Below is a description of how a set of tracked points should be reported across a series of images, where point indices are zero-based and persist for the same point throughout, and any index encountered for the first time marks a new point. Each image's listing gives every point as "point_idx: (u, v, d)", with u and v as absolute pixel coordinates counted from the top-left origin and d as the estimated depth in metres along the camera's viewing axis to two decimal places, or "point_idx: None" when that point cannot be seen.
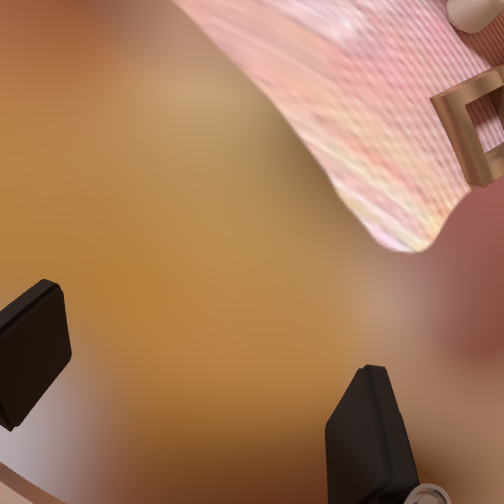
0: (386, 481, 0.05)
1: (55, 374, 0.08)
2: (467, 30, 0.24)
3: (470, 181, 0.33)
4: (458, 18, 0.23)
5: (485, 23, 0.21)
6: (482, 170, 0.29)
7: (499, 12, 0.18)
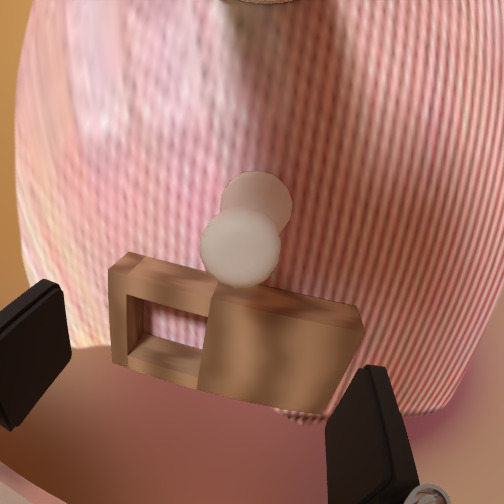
0: (386, 481, 0.05)
1: (55, 374, 0.08)
2: None
3: None
4: None
5: None
6: (117, 351, 0.31)
7: None
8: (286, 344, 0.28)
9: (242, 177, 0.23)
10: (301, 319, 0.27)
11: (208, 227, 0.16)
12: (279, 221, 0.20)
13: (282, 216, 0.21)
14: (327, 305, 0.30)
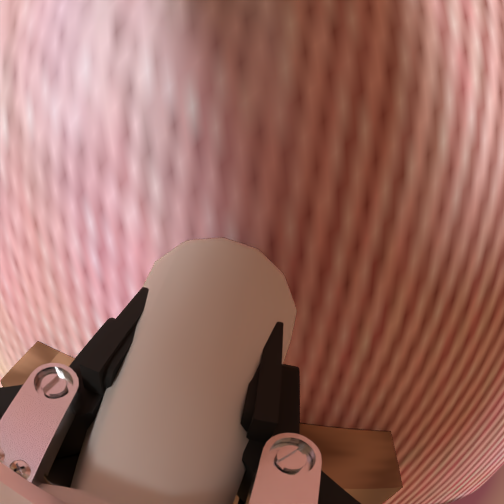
0: (248, 420, 0.06)
1: None
2: None
3: None
4: None
5: None
6: None
7: None
8: None
9: (173, 263, 0.09)
10: None
11: None
12: None
13: None
14: (346, 441, 0.16)
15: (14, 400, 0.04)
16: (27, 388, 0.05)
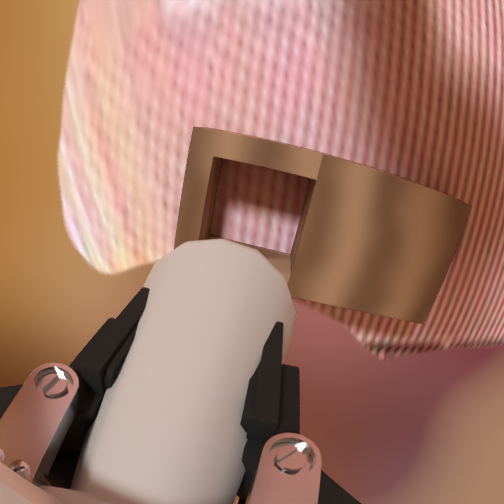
0: (248, 420, 0.06)
1: None
2: None
3: None
4: None
5: None
6: None
7: None
8: (400, 216, 0.23)
9: (173, 265, 0.09)
10: (416, 184, 0.22)
11: None
12: None
13: None
14: (426, 186, 0.25)
15: (14, 400, 0.04)
16: (27, 388, 0.05)
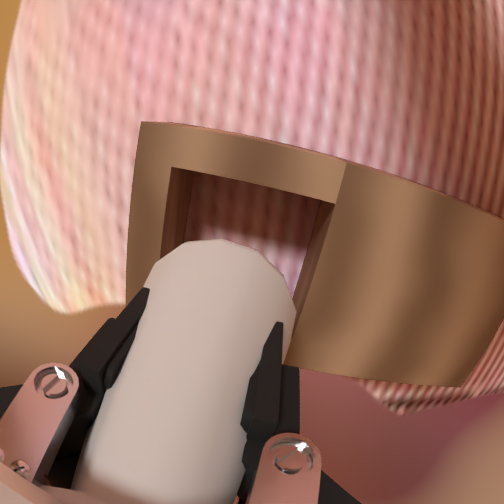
0: (248, 420, 0.06)
1: None
2: None
3: None
4: None
5: None
6: None
7: None
8: (453, 258, 0.15)
9: (172, 265, 0.09)
10: (478, 210, 0.13)
11: None
12: None
13: None
14: (480, 209, 0.17)
15: (14, 400, 0.04)
16: (27, 388, 0.05)
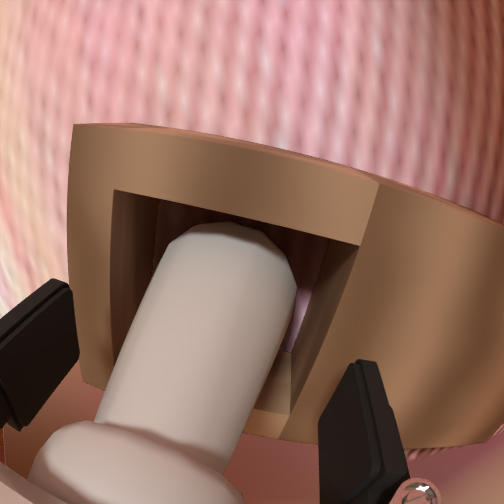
0: (375, 474, 0.05)
1: (63, 373, 0.08)
2: None
3: None
4: None
5: None
6: (90, 358, 0.12)
7: None
8: None
9: (186, 242, 0.11)
10: None
11: None
12: (258, 385, 0.07)
13: (269, 357, 0.08)
14: None
15: None
16: None
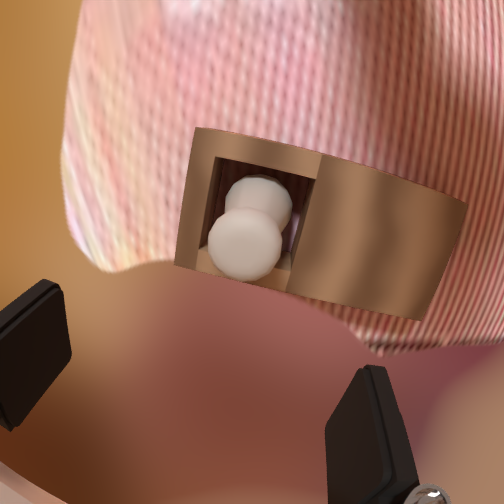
0: (386, 481, 0.05)
1: (55, 374, 0.08)
2: None
3: None
4: None
5: None
6: (184, 245, 0.27)
7: None
8: (397, 215, 0.24)
9: (245, 180, 0.25)
10: (413, 183, 0.23)
11: (215, 225, 0.17)
12: (280, 220, 0.22)
13: (283, 216, 0.23)
14: (424, 186, 0.26)
15: None
16: None
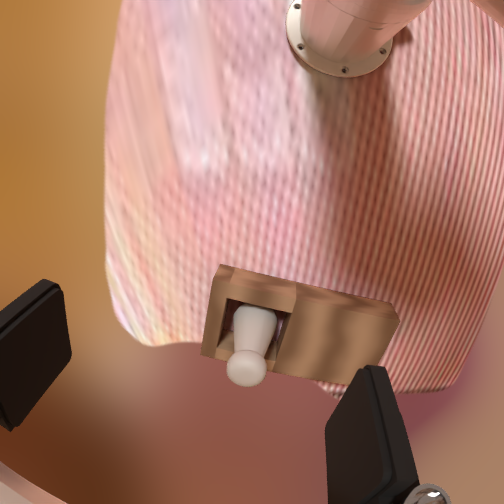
0: (386, 481, 0.05)
1: (55, 374, 0.08)
2: None
3: None
4: (233, 323, 0.40)
5: None
6: (207, 345, 0.41)
7: None
8: (346, 331, 0.38)
9: (246, 310, 0.39)
10: (358, 312, 0.36)
11: (231, 363, 0.31)
12: (267, 345, 0.36)
13: (269, 339, 0.37)
14: (372, 302, 0.40)
15: None
16: None
